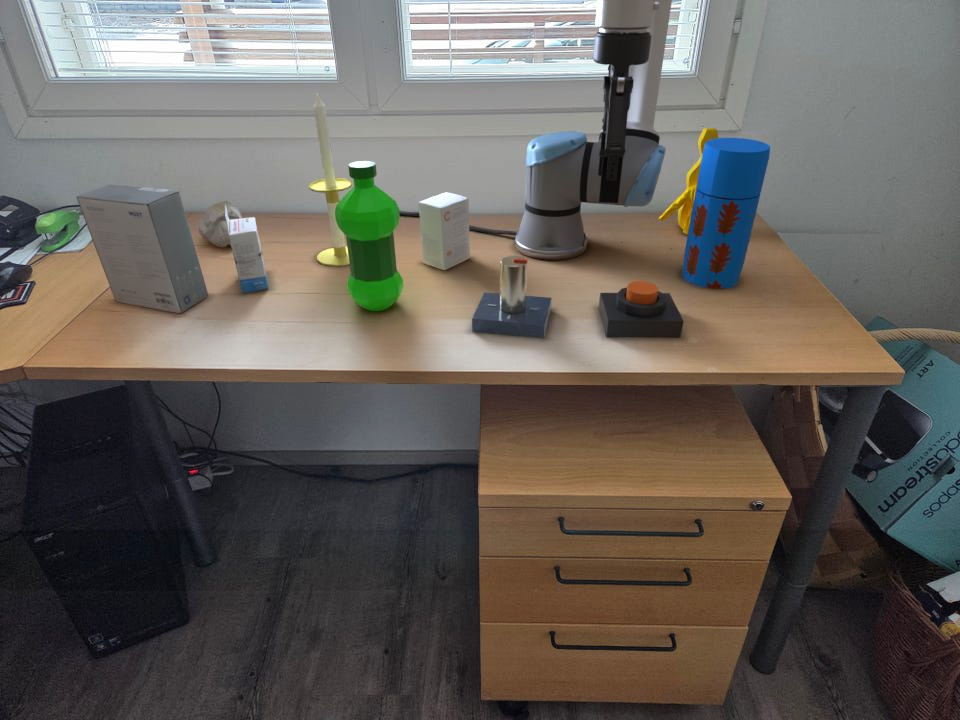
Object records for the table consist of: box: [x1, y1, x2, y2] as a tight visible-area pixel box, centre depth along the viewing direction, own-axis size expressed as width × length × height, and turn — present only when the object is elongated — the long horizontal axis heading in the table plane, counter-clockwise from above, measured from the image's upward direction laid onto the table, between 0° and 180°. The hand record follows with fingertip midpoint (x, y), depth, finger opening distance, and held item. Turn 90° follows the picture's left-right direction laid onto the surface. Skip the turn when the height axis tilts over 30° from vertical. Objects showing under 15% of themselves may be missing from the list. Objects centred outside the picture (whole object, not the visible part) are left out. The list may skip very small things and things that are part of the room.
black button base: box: [598, 286, 685, 339], centre depth 103 cm, size 12×10×5 cm
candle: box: [308, 90, 353, 267], centre depth 121 cm, size 10×10×32 cm
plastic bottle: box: [335, 160, 404, 312], centre depth 104 cm, size 10×10×25 cm
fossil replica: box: [198, 200, 243, 248], centre depth 135 cm, size 12×8×10 cm
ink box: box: [225, 205, 269, 294], centre depth 115 cm, size 8×5×15 cm, turn 20°
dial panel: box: [471, 291, 552, 339], centre depth 105 cm, size 12×10×3 cm
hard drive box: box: [76, 184, 209, 314], centre depth 108 cm, size 16×8×20 cm, turn 71°
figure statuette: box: [658, 127, 719, 236], centre depth 134 cm, size 18×8×22 cm, turn 86°
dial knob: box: [499, 255, 528, 313], centre depth 101 cm, size 4×4×9 cm
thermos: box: [681, 137, 771, 290], centre depth 112 cm, size 11×11×25 cm
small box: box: [418, 191, 471, 271], centre depth 123 cm, size 8×6×13 cm
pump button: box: [626, 280, 660, 304], centre depth 101 cm, size 5×5×2 cm
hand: (607, 188), depth 94 cm, fingers open, 13 cm apart
